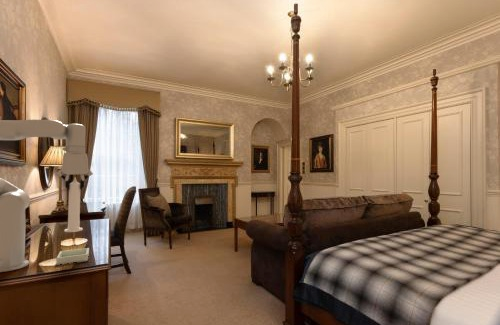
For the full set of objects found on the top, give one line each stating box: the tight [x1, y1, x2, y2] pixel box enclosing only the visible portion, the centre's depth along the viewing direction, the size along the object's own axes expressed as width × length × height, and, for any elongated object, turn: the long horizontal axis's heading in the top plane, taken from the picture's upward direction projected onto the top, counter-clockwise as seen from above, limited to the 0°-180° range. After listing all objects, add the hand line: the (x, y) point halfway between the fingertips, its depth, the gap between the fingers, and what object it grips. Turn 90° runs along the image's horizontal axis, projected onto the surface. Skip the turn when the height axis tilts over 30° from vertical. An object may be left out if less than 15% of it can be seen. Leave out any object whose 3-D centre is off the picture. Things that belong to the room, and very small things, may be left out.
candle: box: [64, 176, 84, 233], centre depth 125 cm, size 7×7×25 cm
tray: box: [55, 247, 90, 266], centre depth 123 cm, size 12×12×3 cm
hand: (74, 188), depth 125 cm, fingers closed on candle, 4 cm apart
